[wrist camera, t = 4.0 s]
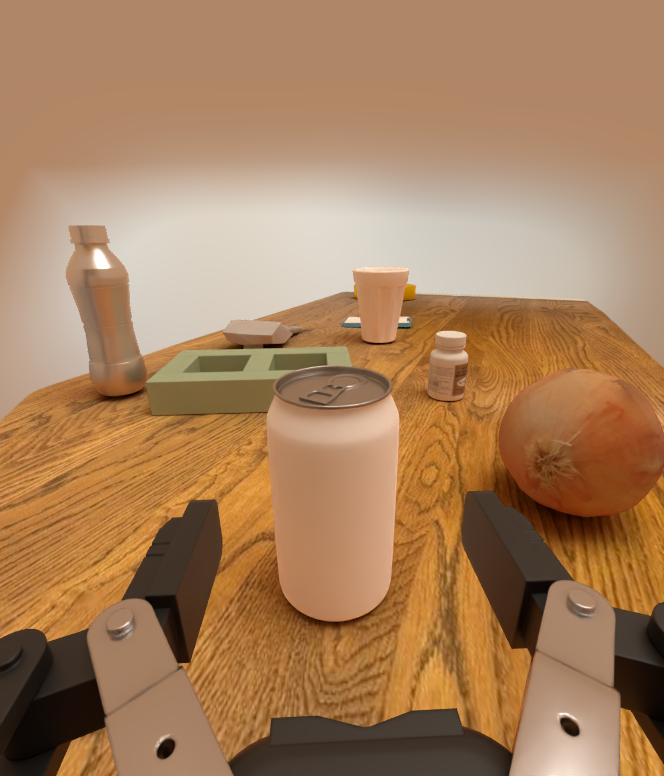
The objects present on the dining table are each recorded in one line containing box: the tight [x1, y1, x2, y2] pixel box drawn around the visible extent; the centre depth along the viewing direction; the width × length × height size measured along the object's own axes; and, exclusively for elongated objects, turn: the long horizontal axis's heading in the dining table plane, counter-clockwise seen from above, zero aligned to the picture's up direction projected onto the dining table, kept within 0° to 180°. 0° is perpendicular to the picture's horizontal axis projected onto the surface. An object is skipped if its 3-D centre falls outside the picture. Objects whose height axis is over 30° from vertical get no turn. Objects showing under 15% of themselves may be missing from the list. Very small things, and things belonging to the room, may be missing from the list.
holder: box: [146, 347, 352, 415], centre depth 50 cm, size 13×23×4 cm, turn 92°
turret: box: [223, 320, 303, 349], centre depth 74 cm, size 10×20×5 cm, turn 161°
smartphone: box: [343, 317, 411, 327], centre depth 88 cm, size 8×1×15 cm
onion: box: [499, 368, 664, 517], centre depth 27 cm, size 10×10×10 cm
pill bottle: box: [427, 331, 468, 401], centre depth 47 cm, size 4×4×8 cm
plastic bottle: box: [66, 226, 147, 396], centre depth 47 cm, size 6×7×20 cm
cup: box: [353, 267, 409, 343], centre depth 72 cm, size 10×10×13 cm
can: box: [267, 365, 399, 622], centre depth 21 cm, size 6×6×12 cm
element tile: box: [354, 284, 416, 301], centre depth 124 cm, size 15×15×5 cm
